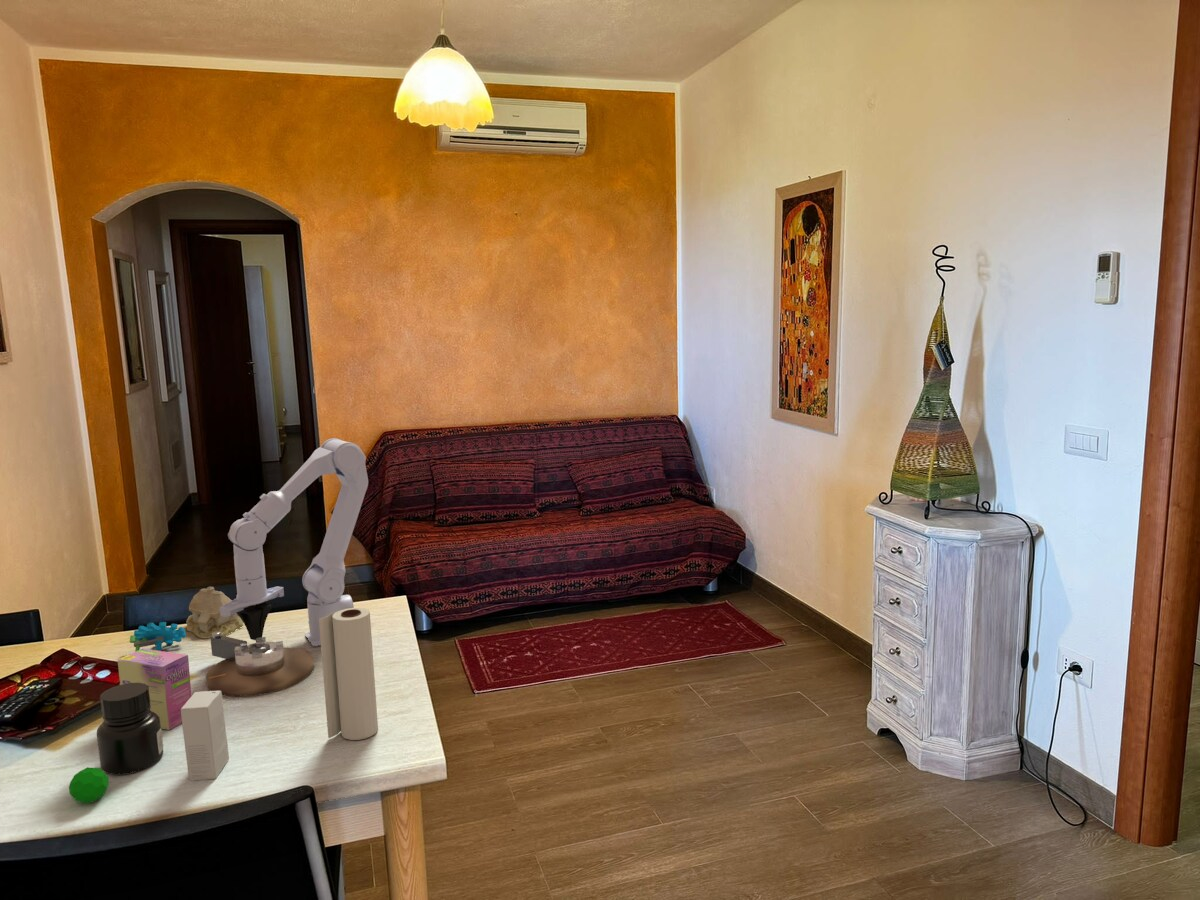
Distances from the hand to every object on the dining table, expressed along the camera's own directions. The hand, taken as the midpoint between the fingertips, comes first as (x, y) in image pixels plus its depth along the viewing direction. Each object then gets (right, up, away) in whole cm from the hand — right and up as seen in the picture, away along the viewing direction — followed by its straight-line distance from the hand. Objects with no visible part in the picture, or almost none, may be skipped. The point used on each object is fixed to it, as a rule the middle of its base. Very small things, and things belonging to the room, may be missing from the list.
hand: (256, 638), depth 178 cm
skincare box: (+11, -11, -45) cm, 47 cm away
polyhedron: (-3, -13, -52) cm, 54 cm away
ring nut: (+1, -3, -7) cm, 8 cm away
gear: (-23, -4, +5) cm, 23 cm away
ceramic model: (-17, -2, +17) cm, 24 cm away
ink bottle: (-3, -11, -41) cm, 43 cm away
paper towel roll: (+31, -9, -34) cm, 46 cm away
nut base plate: (+5, -5, -9) cm, 11 cm away
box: (-6, -9, -27) cm, 29 cm away
